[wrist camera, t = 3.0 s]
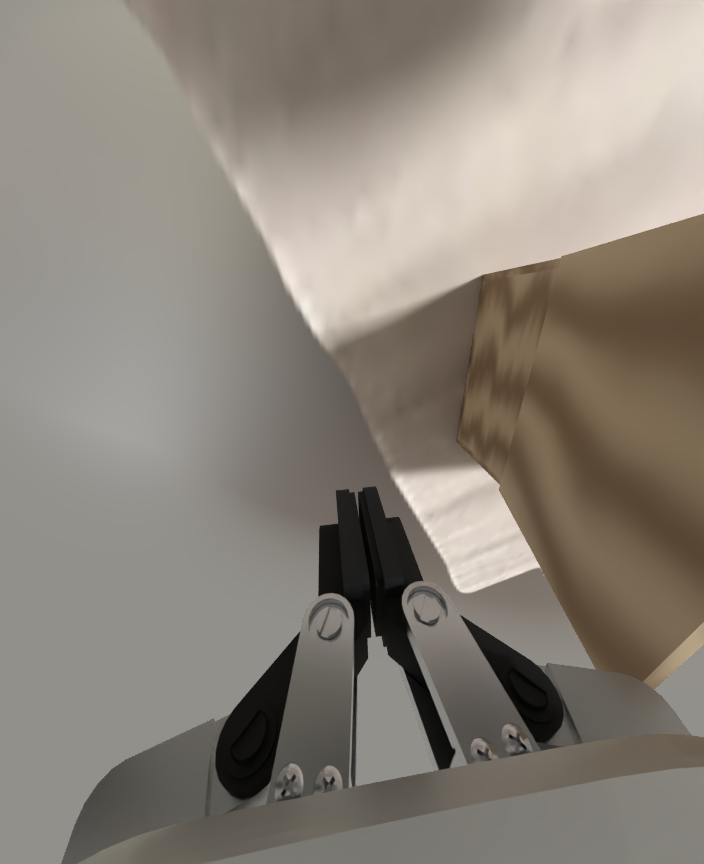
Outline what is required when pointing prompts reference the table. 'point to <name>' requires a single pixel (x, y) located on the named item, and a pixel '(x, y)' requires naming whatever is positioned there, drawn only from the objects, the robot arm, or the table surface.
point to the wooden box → (503, 359)
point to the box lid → (620, 449)
